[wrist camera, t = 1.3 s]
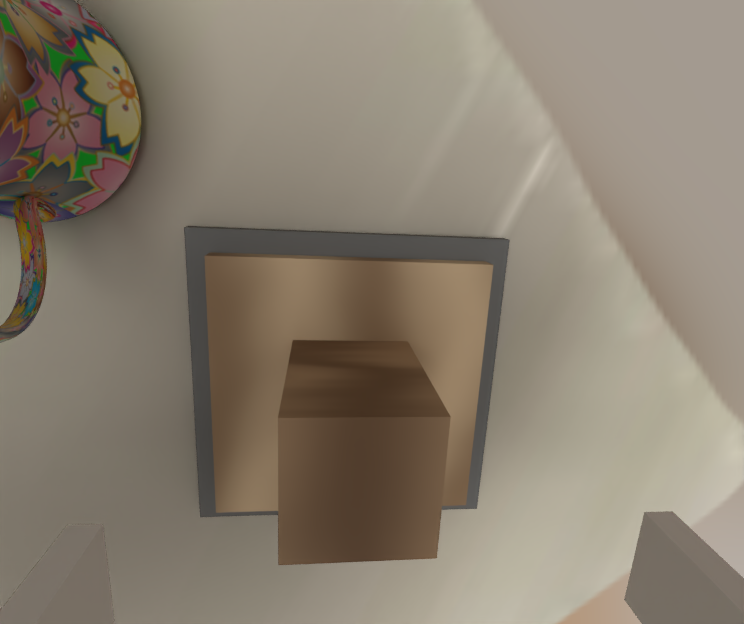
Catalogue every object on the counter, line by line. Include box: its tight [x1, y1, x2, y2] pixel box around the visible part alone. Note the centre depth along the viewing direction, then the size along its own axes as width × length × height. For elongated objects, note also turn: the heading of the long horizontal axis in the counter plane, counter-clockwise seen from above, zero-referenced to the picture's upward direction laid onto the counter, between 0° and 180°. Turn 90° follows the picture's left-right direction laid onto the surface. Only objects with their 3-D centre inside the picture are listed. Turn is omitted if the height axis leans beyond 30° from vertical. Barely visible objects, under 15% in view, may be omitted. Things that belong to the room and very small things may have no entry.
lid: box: [205, 252, 493, 565], centre depth 18 cm, size 12×12×8 cm
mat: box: [184, 226, 509, 517], centre depth 22 cm, size 14×14×1 cm
